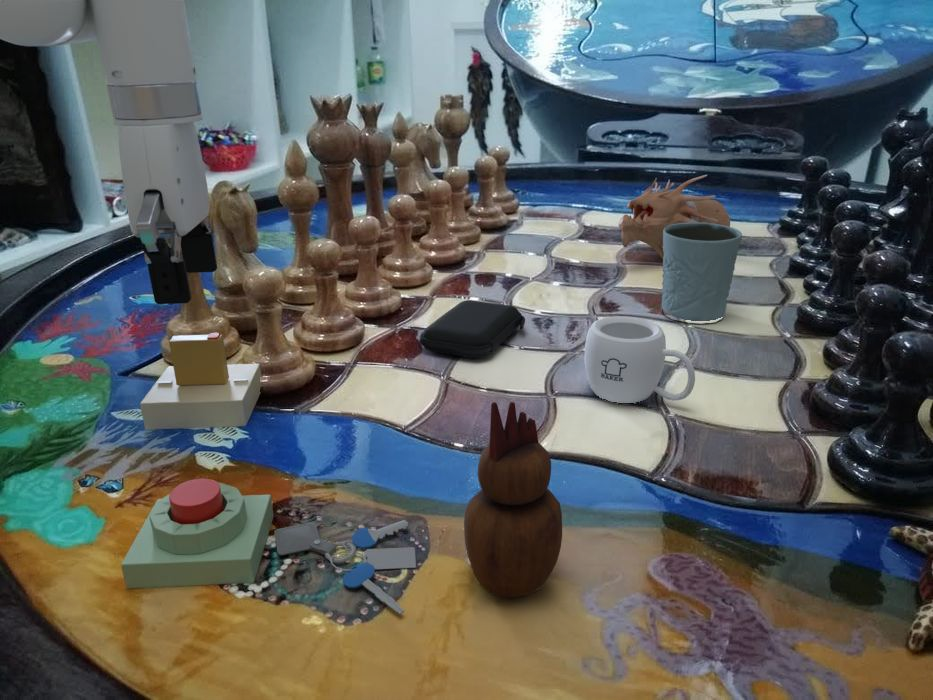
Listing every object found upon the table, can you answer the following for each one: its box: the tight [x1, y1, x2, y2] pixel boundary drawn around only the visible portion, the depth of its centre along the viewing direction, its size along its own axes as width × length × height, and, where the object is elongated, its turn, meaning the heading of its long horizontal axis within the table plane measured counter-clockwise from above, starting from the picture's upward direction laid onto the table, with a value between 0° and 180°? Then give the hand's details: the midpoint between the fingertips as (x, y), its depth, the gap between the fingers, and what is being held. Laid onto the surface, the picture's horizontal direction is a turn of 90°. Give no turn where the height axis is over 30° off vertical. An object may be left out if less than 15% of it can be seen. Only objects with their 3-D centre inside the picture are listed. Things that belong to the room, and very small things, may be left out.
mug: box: [584, 315, 696, 404], centre depth 78 cm, size 12×8×8 cm
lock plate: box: [139, 363, 262, 431], centre depth 77 cm, size 10×9×3 cm
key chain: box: [273, 519, 417, 615], centre depth 56 cm, size 14×8×1 cm, turn 56°
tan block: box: [168, 332, 229, 386], centre depth 76 cm, size 5×2×5 cm, turn 94°
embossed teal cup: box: [661, 222, 743, 321], centre depth 101 cm, size 10×10×12 cm
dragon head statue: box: [618, 174, 731, 260], centre depth 125 cm, size 13×15×25 cm
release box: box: [120, 482, 275, 590], centre depth 55 cm, size 9×8×4 cm
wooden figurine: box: [463, 401, 563, 598], centre depth 50 cm, size 7×6×15 cm
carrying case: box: [419, 299, 526, 360], centre depth 94 cm, size 11×3×15 cm
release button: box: [169, 478, 223, 524], centre depth 54 cm, size 4×4×2 cm
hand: (188, 286), depth 73 cm, fingers open, 9 cm apart
